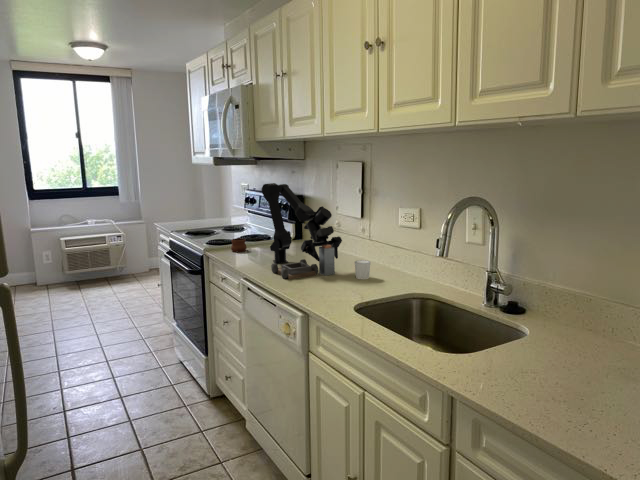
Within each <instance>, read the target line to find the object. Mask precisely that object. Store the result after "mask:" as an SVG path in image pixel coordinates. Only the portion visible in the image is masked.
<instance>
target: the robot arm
mask: <svg viewBox="0 0 640 480" xmlns="http://www.w3.org/2000/svg"><path fill="white" fill-rule="evenodd" d="M261 193H262V196H263V198H264V199H265V200H266V202H267V203H268V206H269V211H270V215H271V219H272V224H273V229H274V232H273V233H274V234H273V242H272V243H271V245H270V246H269V249H270V252H273V253H274V255H273V256H274V259H273V260H272V263H276V264H277V265H278V264H289V261H288V260H287V250H290V248H291V244H292V240H293V238H292V235H291V231H288V230H286V228H285V224H284V219H283V215H282V211H281V206H280V202H279V197H280V194H281V196H282V197H283V198H284V199H285V200H286V202H287V203H288V204H289V206H291V208H292V209H293V210H294V213H295V214H294V215H295V216H296V217H297V219H298V220H299V222H301V223H304V222H305V224H304V227H303V229H304V230H307V231H308V232H309V234H310V237H309V238H310V239H304V240H303V243H302V244H301V245H300V250H301V252H302V253H305V254H308V255H309V256H311V257H312V258H313V259H315V260H316V261H317V262H319V261H320V259H319V253H317V252H318V251H317V249H316V247H322V245H325V244H329V245H331V247H334V259H336V260H337V259H338V258H339V253H338V250H339V249H338V248H339V246H340V245H341V243H342V242H343V239H342V237H341V236H332V237H331V238H330V240H328V239H329V236H331V235H332V234H334V233H335V230H334V228H333V226H332V225H331V226H330V225H329V226H327V227H321V226H325V224H326V223H327V222H328V221H329V220H331V218H332V216H333V215H332V212H331V211H330V210H328V209H327V208H325V207H324V206H319V207H318V209H317V210H316V211H314V210H313V208H311V207H310V206H309V205H307V204H304V202H302V201H301V199H299V198H298V196H297V195H296V194H295V193H294V192H293V190H292V189H291V188H290V187H289V185H288V184H286V183H281V184H277V183H275V182H271V183H270V182H269V183H264V184H263V185H262V187H261ZM306 222H307V223H306Z"/></svg>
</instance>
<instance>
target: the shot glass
mask: <svg viewBox="0 0 640 480" xmlns="http://www.w3.org/2000/svg"><path fill="white" fill-rule="evenodd" d="M354 272H355V278H356V279H358V280H367V279H369V278H370V272H371V261H370V260H364V259H359V260H355V261H354Z"/></svg>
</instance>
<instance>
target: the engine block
mask: <svg viewBox="0 0 640 480" xmlns="http://www.w3.org/2000/svg"><path fill="white" fill-rule="evenodd" d="M318 256H319V259H320V261H318V264H319V267H318V272H319V273H318V274H320V275H322V276H330V275H331V276H332V275H335V274H336V273H335V270H336V268H335V265H336V264H335V263H336V262H335V256H334V247H331V245H329V244H325V245H322V246H318Z"/></svg>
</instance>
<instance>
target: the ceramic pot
mask: <svg viewBox="0 0 640 480" xmlns="http://www.w3.org/2000/svg"><path fill="white" fill-rule="evenodd" d="M230 242H231V247H230V249H231V252H232V253H243V252H246V251H247V245H246V238H239V237H237V238H232V239H231V241H230Z"/></svg>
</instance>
